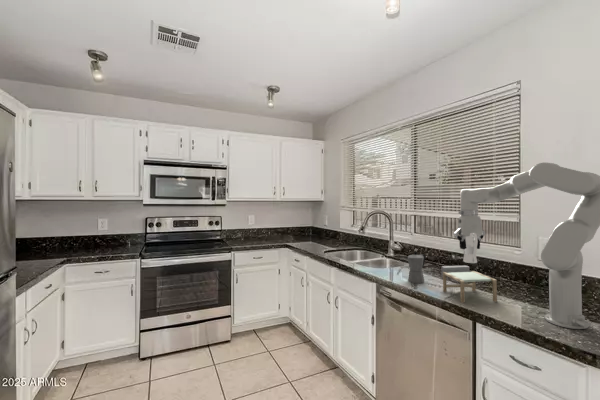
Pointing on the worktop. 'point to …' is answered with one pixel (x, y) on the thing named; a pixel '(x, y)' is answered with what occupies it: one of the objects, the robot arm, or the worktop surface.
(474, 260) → the beer glass
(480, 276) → the trapdoor
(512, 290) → the worktop surface
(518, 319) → the worktop surface
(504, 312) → the worktop surface
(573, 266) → the robot arm
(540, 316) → the worktop surface
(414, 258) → the coffeepot
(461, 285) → the trapdoor stand
